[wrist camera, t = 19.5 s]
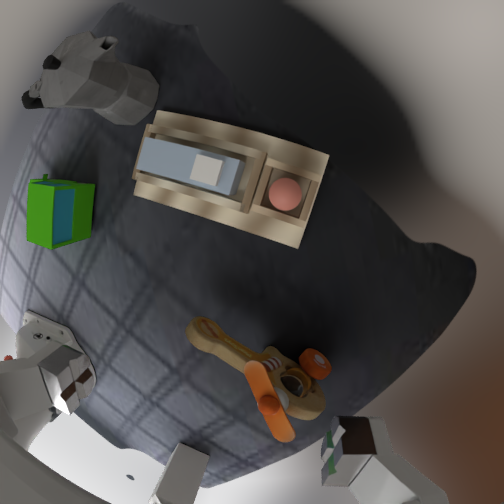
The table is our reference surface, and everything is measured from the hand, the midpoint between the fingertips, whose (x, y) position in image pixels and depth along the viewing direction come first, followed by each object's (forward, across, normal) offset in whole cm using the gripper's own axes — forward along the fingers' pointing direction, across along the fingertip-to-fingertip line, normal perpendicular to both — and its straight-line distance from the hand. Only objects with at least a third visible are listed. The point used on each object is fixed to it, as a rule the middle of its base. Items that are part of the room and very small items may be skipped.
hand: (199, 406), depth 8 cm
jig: (+29, +7, -7) cm, 31 cm away
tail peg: (+28, -1, -6) cm, 29 cm away
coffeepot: (+29, +24, -17) cm, 41 cm away
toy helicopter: (+29, -2, +16) cm, 33 cm away
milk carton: (+29, +10, +49) cm, 58 cm away
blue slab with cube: (+28, +11, -8) cm, 31 cm away
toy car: (+29, +33, -1) cm, 44 cm away
